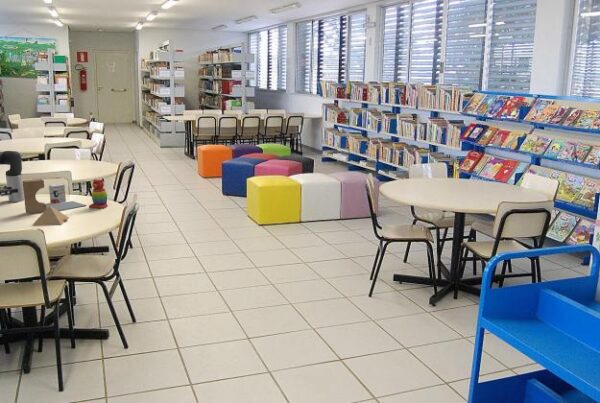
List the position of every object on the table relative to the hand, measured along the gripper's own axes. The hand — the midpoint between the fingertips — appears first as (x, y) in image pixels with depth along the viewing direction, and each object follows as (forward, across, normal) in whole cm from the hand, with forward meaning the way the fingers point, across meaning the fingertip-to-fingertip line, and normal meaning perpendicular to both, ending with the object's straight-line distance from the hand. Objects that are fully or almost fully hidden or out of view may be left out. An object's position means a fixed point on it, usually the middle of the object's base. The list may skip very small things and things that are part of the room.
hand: (14, 189), depth 335 cm
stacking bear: (+45, -17, +16) cm, 50 cm away
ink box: (+33, +15, +16) cm, 40 cm away
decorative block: (+12, 0, +16) cm, 20 cm away
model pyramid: (+7, -28, +17) cm, 33 cm away
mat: (+29, 0, +16) cm, 33 cm away
